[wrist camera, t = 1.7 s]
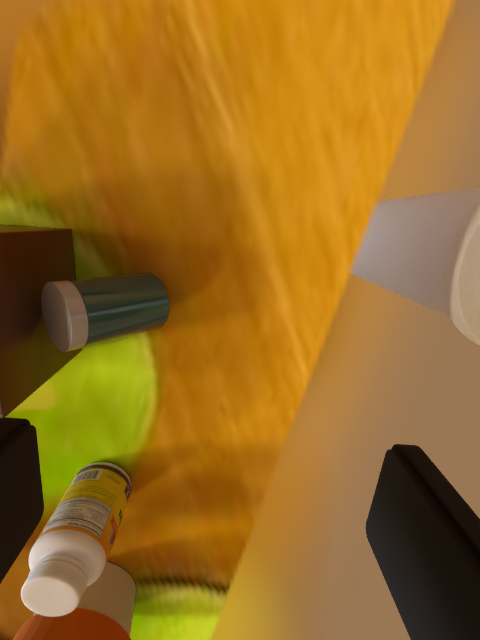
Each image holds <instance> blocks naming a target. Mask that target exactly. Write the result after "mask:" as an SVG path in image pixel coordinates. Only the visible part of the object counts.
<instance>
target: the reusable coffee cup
mask: <svg viewBox="0 0 480 640" xmlns="http://www.w3.org/2000/svg"><path fill="white" fill-rule="evenodd" d="M135 596H136V586H135V583H134V580H133V579H132V577H131V576H130V575H129V574H128V573H127V572H126V571H125V570H124V569H122V568H121V567H119V566H117V565H115V564H112V563H110V562H106V564H105V567H104V569H103V572H102V573H101V575H100V576H99V578H98V579H97V580H96V581H95V582H94V583H92V584H91V585H89V586H88V587H86V589H85V591H84V593H83V595H82V597H81V599H80V602H79V604H78V606H77V607H76V608H75V610H73V611H72V612H71V613H69V614H66V615H63V616H58V617H49V616H43V615H40V614H37V613H34V615H33V616H32V617H31V618H29V619H28V620H27V621H26V622H25V623H23V624H22V626H21V628H20V629H19V631H18V632H17V634H16V635H15V637H14V639H13V640H131V639H130V631H131V624H132V617H133V610H134V603H135Z"/></svg>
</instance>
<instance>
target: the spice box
mask: <svg viewBox="0 0 480 640" xmlns="http://www.w3.org/2000/svg"><path fill="white" fill-rule="evenodd" d="M73 279H76V273H75V262H74V251H73V240H72V230H71V229H65V228H48V227H31V226H14V225H0V418H5V417H6V416H7V415H8V414H9V413H10V412H12V411H13V410H14V409H15V408H16V407H17V406H18V405H19V404H21V403H22V402H23V401H24V400H25V399H26V398H27V397H29V396H30V395H31V394H32V393H33V392H34V391H36V390H37V389H38V388H39V387H40V386H41V385H42V384H44V383H45V382H46V381H47V380H48V379H49V378H51V377H52V376H53V375H54V374H55V373H56V372H58V371H59V370H60V369H61V368H62V367H63V366H64V365H66V364H67V363H68V362H69V361H70V360H71V359H73V358H74V357H75V356H76V355H77V354H78V353H79V352H81V351H82V348H79V349H75V350H71V351H67V352H62V351H60V350H58V349H57V348H56V347H55V345H54V344H53V342H52V341H51V339H50V337H49V335H48V332H47V329H46V327H45V323H44V319H43V314H42V307H41V295H42V290H43V287H44V285H45V284H46V283H47V282H51V281H62V280H73Z"/></svg>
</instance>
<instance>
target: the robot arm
mask: <svg viewBox="0 0 480 640" xmlns="http://www.w3.org/2000/svg"><path fill="white" fill-rule="evenodd" d="M43 510H44V502H43V493H42V483H41V473H40V463H39V454H38V444H37V434H36V428H35V427H34V426H33V425H30V422H29V421H28V420H27V419H18V418H0V583H1V582H2V580H3V579H4V577H5V575H6V574H7V572H8V571H9V569H10V568H11V566H12V564H13V563H14V561H15V560H16V558H17V557H18V555H19V553H20V552H21V550H22V549H23V547H24V546H25V544H26V542H27V541H28V539H29V538H30V536H31V535H32V533H33V531H34V530H35V528H36V527H37V525H38V524H39V522H40V520H41V517H42V514H43ZM366 534H367V538H368V541H369V543H370V545H371V548H372V550H373V553H374V555H375V557H376V559H377V562H378V564H379V567H380V569H381V571H382V573H383V576H384V578H385V580H386V583H387V585H388V588H389V590H390V592H391V595H392V597H393V599H394V601H395V604H396V606H397V608H398V611H399V613H400V615H401V618H402V620H403V622H404V625H405V627H406V629H407V632H408V634H409V636H410V639H411V640H480V519H479V518H478V516H477V515H476V514H475V513H474V512H473V510H472V509H471V508H470V507H469V505H468V504H467V503H466V502H465V501H464V500H463V498H462V497H461V496H460V495H459V493H458V492H457V491H456V490H455V489H454V487H453V486H452V485H451V484H450V483H449V482H448V481H447V479H446V478H445V477H444V475H443V474H442V473H441V472H440V471H439V469H438V468H437V467H436V466H435V465H434V463H433V462H431V460H430V459H429V458H428V456H427V455H426V454H425V453H424V451H423V450H422V449H421V448H420V447H418V446H416V445H401V444H396V445H394V446H393V447H392V449H391V450H387V452H386V454H385V458H384V461H383V465H382V469H381V472H380V476H379V479H378V484H377V487H376V490H375V494H374V497H373V501H372V504H371V508H370V511H369V515H368V519H367V522H366Z"/></svg>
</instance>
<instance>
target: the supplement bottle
mask: <svg viewBox="0 0 480 640" xmlns="http://www.w3.org/2000/svg"><path fill="white" fill-rule="evenodd" d="M131 489H132V486H131V481H130V478H129V476H128V475H127V473H126V472H125V471H124V470H123V469H122V468H120V467H119V466H117V465H114V464H112V463H107V462H96V463H92V464H89V465H87V466H85V467H84V468H82V469H81V470H80V471H79V472H78V473H77V475H76V476H75V478H74V479H73V481H72V483H71V484H70V486H69V488H68V489H67V491H66V492H65V494H64V496H63V497H62V499H61V501H60V502H59V504H58V506H57V507H56V509H55V511H54V512H53V514H52V516H51V517H50V519H49V521H48V522H47V524H46V526H45V527H44V529H43V530H42V532H41V534H40V535H39V537H38V539H37V540H36V542H35V544H34V545H33V547H32V549H31V551H30V554H29V567H30V570H31V571H30V573H29V576H28V578H27V580H26V581H25V583H24V585H23V587H22V590H21V598H22V601H23V603H24V604H25V606H26V607H27V608H29V609H30V610H31V611H33V612H35V613H37V614H40V615H43V616H49V617H58V616H63V615H66V614H69V613H71V612H72V611H73V610H75V608H76V607H77V606H78V604H79V602H80V599H81V597H82V595H83V593H84V591H85V589H86V587H88V586H89V585H91V584H92V583H94V582H95V581H96V580H97V579H98V578H99V576H100V575H101V573H102V572H103V569H104V567H105V564H106V561H107V559H108V556H109V553H110V550H111V547H112V545H113V542H114V539H115V536H116V534H117V531H118V528H119V525H120V523H121V520H122V517H123V514H124V511H125V508H126V506H127V503H128V500H129V497H130V494H131Z"/></svg>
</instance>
